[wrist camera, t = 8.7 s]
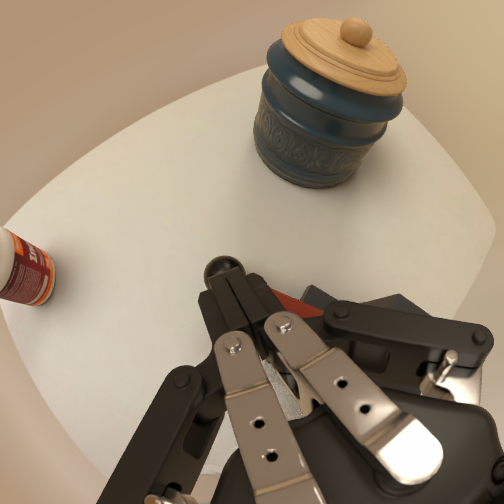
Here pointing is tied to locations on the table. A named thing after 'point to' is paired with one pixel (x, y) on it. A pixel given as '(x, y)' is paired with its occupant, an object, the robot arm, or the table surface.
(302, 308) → the lever
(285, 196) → the table surface
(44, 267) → the pill bottle
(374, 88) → the canister
